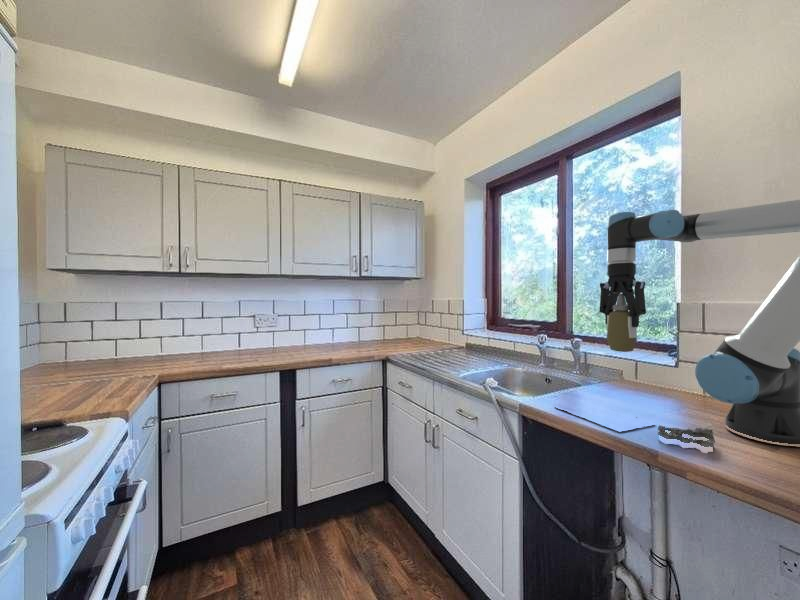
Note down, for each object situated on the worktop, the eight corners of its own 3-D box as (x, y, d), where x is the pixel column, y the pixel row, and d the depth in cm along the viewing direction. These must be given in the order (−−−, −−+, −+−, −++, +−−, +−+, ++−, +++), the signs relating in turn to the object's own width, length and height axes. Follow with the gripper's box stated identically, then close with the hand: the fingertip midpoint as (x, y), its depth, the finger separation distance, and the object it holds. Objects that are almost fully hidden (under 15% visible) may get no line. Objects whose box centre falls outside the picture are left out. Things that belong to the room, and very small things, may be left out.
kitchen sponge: (715, 446, 82) (715, 429, 82) (714, 457, 77) (714, 439, 77) (660, 434, 90) (660, 418, 90) (655, 443, 84) (655, 427, 84)
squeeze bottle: (622, 353, 104) (621, 293, 104) (600, 349, 112) (600, 293, 111) (643, 352, 106) (643, 293, 105) (621, 348, 114) (620, 293, 113)
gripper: (661, 260, 100) (661, 339, 101) (603, 265, 119) (603, 332, 119) (643, 259, 98) (643, 340, 98) (586, 265, 116) (586, 333, 117)
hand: (621, 336), depth 109 cm, fingers closed on squeeze bottle, 6 cm apart
